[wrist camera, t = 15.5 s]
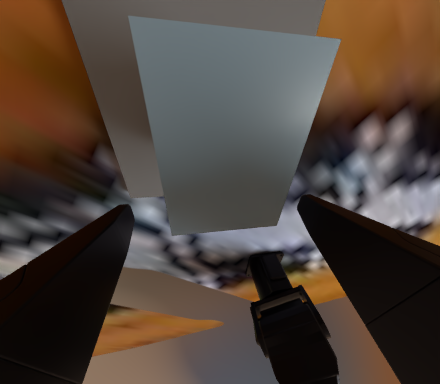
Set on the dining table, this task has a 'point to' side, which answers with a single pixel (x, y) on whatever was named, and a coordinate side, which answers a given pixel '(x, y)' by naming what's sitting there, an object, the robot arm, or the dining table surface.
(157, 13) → the base plate
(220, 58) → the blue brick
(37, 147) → the dining table surface
